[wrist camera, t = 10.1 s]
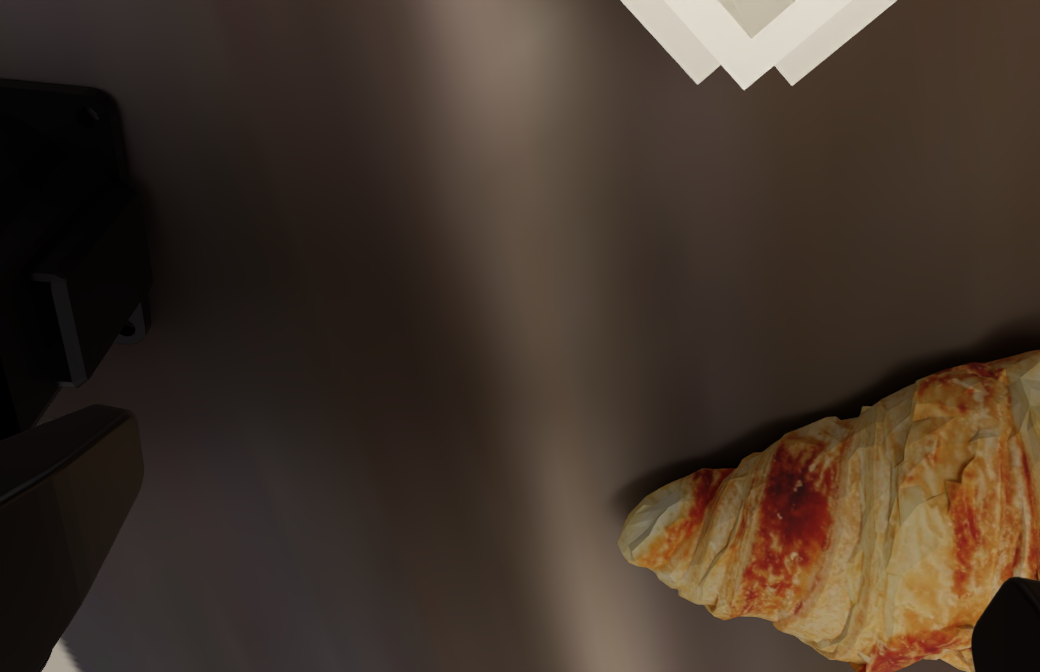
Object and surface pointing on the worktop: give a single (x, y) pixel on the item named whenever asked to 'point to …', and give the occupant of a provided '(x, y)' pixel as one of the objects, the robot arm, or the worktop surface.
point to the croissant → (866, 521)
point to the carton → (753, 33)
